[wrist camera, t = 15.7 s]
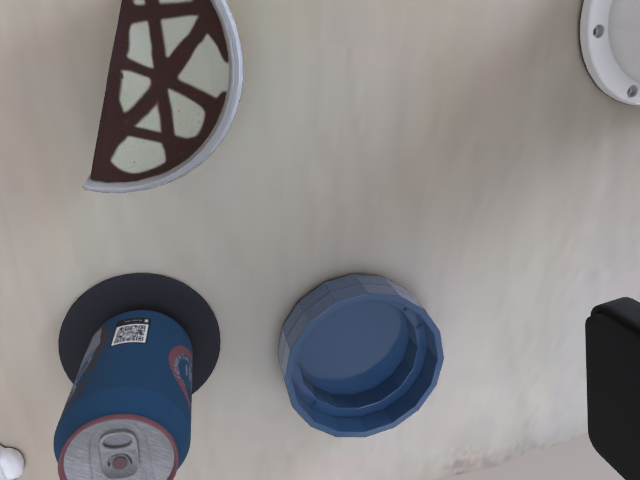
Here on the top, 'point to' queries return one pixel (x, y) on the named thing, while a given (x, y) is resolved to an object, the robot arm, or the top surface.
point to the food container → (166, 92)
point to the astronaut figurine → (10, 463)
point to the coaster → (141, 295)
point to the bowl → (359, 356)
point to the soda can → (129, 402)
